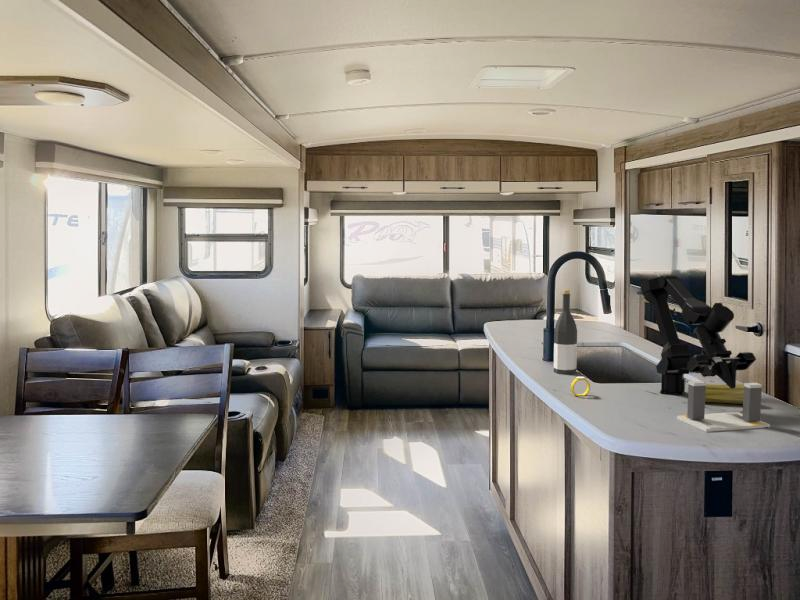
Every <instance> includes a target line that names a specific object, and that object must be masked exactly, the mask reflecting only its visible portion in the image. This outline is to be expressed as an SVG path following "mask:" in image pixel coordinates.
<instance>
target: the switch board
mask: <svg viewBox="0 0 800 600" xmlns="http://www.w3.org/2000/svg"><path fill="white" fill-rule="evenodd" d="M742 417H743V412H742V413H741V412H739V411H726V412H725V411H724V412H717V413H704V419H694V420H692V419H690V418H688V417H687V414H681V415H677V420H679V421H681V422H684V423H685V424H688V425H690V426H693V427H694V428H696V429H699V430H701V431H703V432H705V433H708V432H709V433H710V432H721V431H736V430H739V431H740V430H749V429H751V430H752V429H763V428H764V429H766V428H765V427H768V428H771V424H770V423H768V422H765V421H762V420H760V421H757V422H747V421H745V420H742Z"/></svg>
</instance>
